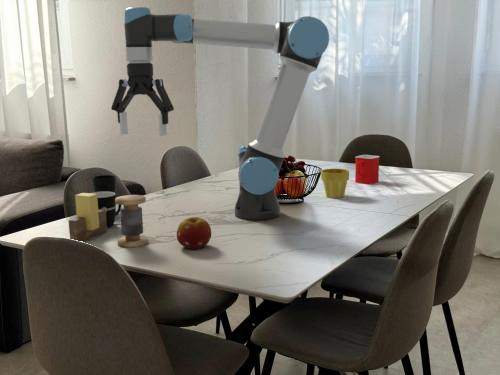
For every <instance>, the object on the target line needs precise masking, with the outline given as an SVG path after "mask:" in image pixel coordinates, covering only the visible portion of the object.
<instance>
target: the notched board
mask: <svg viewBox="0 0 500 375" xmlns="http://www.w3.org/2000/svg"><path fill="white" fill-rule="evenodd" d="M98 215H99V228H97V229H94V230H86V223H85V217H77V216H76V217H73V218H71V219H69V220H68V229H69V230H68V231H69V240H70V239H74V240H78V241H83V243H85V242H88V241H91V240H93V239H94V238H97V237H99V236H101V235H104V234H106V233H108V228H107V222H106V210H105V209H98Z"/></svg>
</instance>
